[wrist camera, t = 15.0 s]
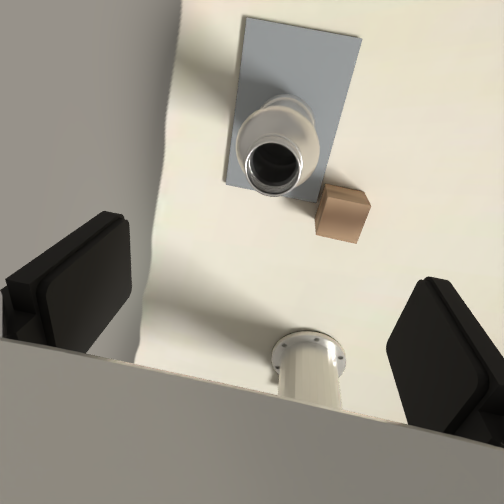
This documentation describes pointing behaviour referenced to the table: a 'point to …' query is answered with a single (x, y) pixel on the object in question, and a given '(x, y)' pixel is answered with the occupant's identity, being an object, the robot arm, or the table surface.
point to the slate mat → (294, 86)
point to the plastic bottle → (278, 145)
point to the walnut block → (341, 213)
